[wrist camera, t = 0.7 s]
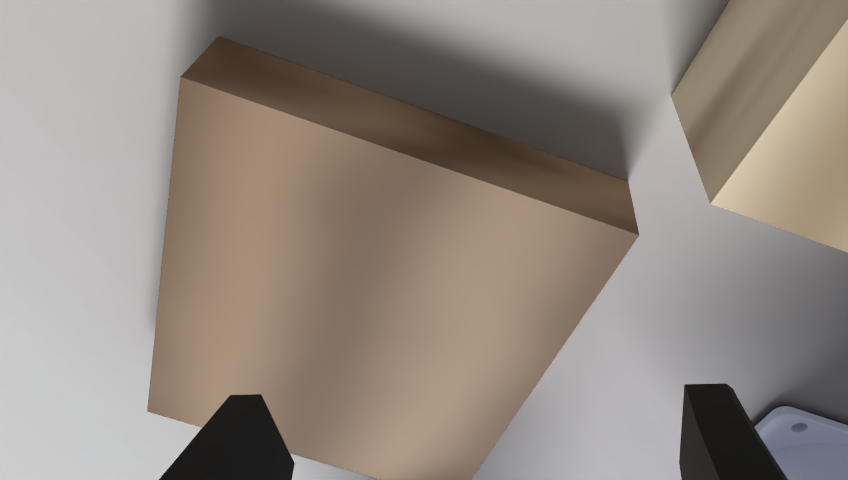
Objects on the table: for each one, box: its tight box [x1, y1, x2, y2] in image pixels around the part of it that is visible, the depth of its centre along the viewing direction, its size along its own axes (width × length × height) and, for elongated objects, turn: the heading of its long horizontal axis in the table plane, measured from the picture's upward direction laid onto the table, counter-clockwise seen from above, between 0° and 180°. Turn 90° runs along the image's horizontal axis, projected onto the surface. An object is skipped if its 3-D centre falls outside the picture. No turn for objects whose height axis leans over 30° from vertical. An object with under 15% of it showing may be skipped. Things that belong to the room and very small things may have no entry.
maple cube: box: [671, 0, 848, 253], centre depth 15 cm, size 4×4×5 cm
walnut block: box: [147, 37, 639, 480], centre depth 22 cm, size 12×14×3 cm
